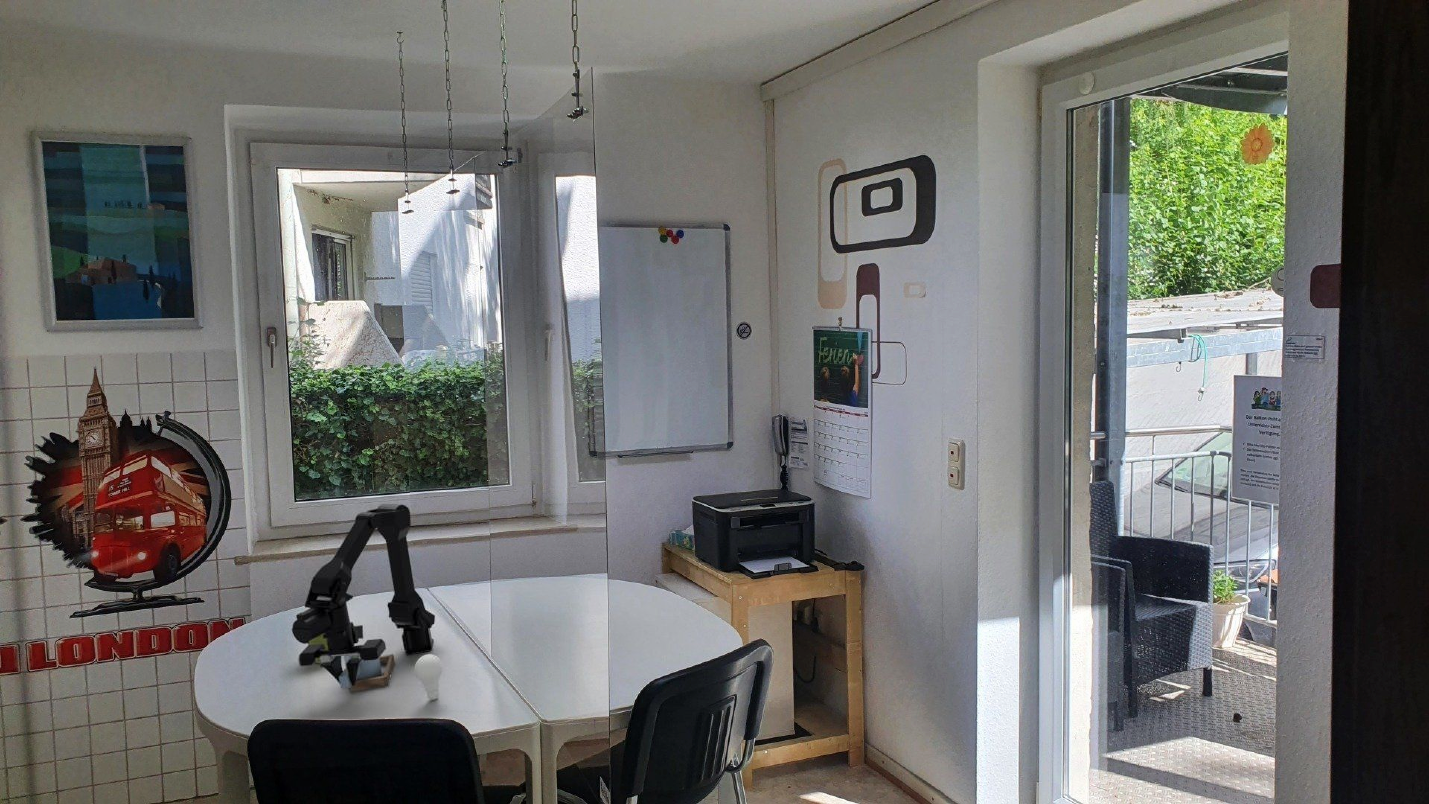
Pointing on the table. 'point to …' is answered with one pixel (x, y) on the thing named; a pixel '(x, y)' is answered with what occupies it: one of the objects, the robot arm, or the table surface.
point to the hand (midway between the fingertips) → (348, 685)
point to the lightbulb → (429, 674)
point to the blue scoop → (361, 671)
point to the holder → (376, 681)
